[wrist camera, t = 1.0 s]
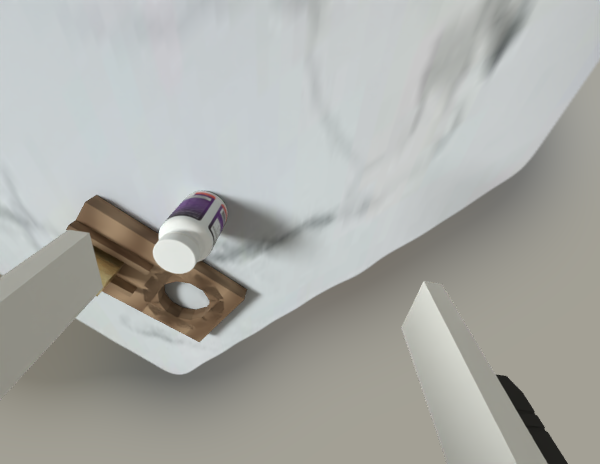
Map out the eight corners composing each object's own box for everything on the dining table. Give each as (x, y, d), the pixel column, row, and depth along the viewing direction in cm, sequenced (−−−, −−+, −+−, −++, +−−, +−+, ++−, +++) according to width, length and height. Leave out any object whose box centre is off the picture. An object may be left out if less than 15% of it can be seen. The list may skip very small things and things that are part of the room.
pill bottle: (175, 208, 35) (133, 255, 27) (202, 180, 33) (165, 221, 25) (210, 237, 37) (181, 288, 29) (237, 212, 35) (215, 259, 27)
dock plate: (63, 256, 40) (45, 271, 37) (96, 194, 35) (77, 206, 32) (203, 331, 46) (196, 348, 44) (247, 289, 42) (242, 305, 39)
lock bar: (70, 249, 36) (44, 269, 33) (78, 234, 35) (53, 253, 31) (116, 274, 38) (97, 296, 34) (125, 261, 37) (106, 281, 33)
